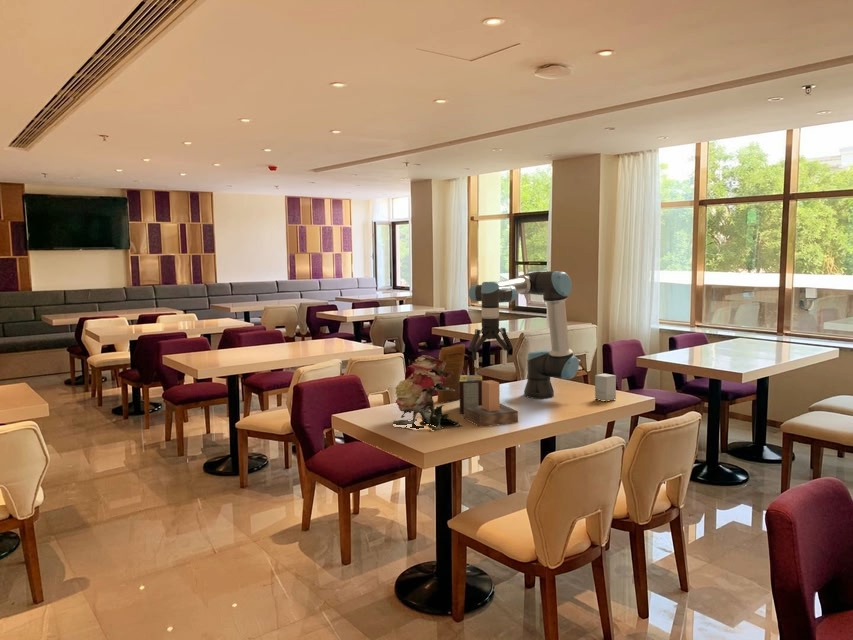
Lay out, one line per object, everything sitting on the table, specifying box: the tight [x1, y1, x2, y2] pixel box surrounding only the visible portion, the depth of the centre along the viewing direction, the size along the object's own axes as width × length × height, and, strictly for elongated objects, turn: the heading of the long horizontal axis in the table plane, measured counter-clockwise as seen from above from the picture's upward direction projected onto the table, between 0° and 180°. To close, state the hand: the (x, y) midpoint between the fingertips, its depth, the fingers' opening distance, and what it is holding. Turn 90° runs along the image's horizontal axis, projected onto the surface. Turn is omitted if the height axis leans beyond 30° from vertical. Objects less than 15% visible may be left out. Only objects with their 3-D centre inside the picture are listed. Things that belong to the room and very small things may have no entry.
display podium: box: [463, 403, 519, 427], centre depth 275 cm, size 18×16×5 cm
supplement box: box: [594, 373, 617, 401], centre depth 312 cm, size 7×7×13 cm
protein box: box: [459, 374, 483, 415], centre depth 293 cm, size 10×15×16 cm
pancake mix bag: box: [436, 343, 466, 403], centre depth 315 cm, size 7×19×28 cm, turn 129°
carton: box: [482, 379, 501, 411], centre depth 274 cm, size 7×5×12 cm
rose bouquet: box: [392, 354, 468, 430], centre depth 268 cm, size 26×29×30 cm
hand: (490, 366), depth 273 cm, fingers open, 13 cm apart
